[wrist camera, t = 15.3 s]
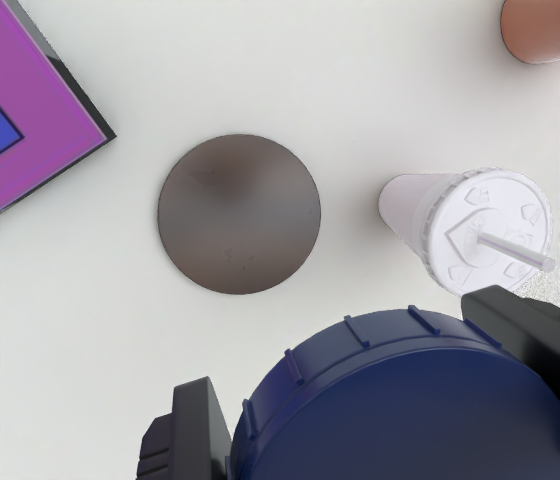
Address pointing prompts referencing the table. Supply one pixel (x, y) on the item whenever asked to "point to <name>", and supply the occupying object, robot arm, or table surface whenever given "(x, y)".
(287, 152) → the coaster
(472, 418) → the jar lid
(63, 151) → the book
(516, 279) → the smoothie
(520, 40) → the jar
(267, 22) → the table surface
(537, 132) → the table surface
